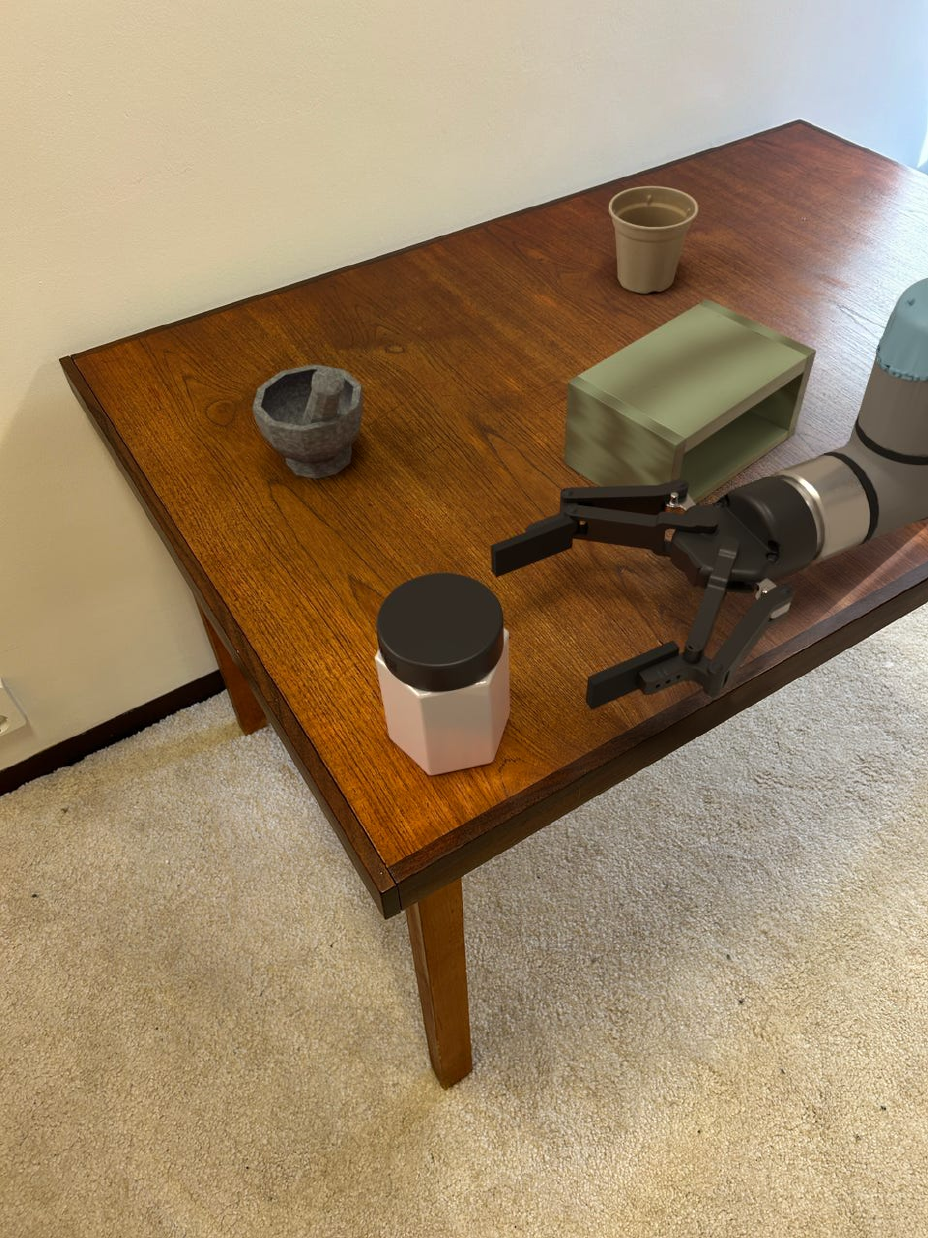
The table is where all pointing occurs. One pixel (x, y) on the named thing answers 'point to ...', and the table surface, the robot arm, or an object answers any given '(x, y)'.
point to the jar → (444, 671)
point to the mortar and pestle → (311, 417)
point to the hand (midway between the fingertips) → (537, 623)
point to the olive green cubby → (687, 403)
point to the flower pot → (650, 235)
